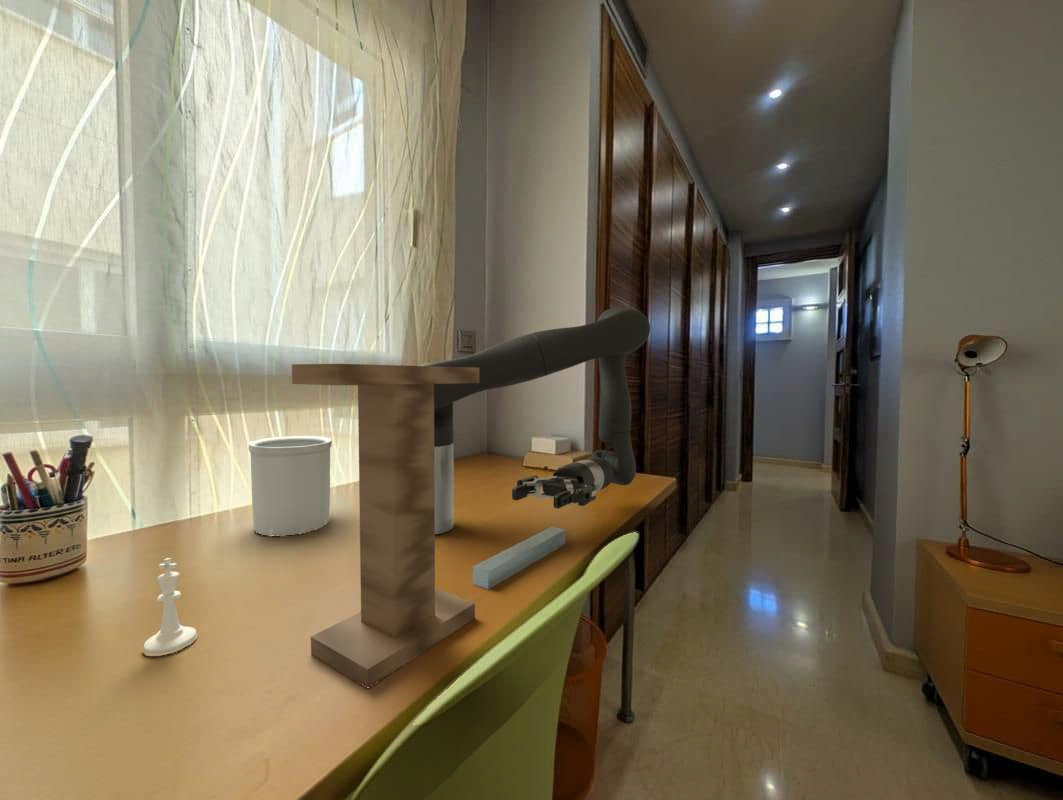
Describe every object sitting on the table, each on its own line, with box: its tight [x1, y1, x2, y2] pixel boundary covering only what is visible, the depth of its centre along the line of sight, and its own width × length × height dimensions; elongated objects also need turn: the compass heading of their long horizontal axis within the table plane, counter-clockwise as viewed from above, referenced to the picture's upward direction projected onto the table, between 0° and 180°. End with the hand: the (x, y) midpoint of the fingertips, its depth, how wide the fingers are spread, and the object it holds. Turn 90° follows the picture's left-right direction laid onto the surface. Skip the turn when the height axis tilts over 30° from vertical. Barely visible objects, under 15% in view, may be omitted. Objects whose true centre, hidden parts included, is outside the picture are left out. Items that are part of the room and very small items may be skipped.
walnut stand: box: [291, 363, 479, 688], centre depth 54 cm, size 20×10×32 cm, turn 146°
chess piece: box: [143, 557, 198, 655], centre depth 52 cm, size 5×5×10 cm
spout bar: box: [472, 526, 566, 590], centre depth 76 cm, size 22×3×3 cm, turn 145°
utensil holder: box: [248, 435, 333, 537], centre depth 93 cm, size 15×15×18 cm
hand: (534, 498), depth 78 cm, fingers open, 8 cm apart
